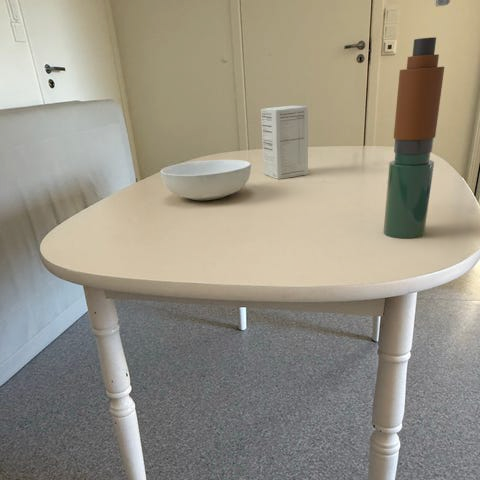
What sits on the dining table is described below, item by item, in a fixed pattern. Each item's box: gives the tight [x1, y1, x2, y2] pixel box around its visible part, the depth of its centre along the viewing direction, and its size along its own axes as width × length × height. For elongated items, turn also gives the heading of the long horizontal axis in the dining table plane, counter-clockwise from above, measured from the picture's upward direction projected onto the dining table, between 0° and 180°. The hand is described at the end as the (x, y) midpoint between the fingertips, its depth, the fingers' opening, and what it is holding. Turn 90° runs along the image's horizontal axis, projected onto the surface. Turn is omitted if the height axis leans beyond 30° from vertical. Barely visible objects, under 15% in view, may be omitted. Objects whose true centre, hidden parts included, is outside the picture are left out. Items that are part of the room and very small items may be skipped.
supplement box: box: [260, 105, 309, 180], centre depth 118 cm, size 10×9×17 cm
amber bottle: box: [393, 36, 445, 140], centre depth 63 cm, size 6×6×12 cm
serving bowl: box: [160, 159, 252, 202], centre depth 104 cm, size 21×21×7 cm
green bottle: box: [382, 138, 435, 239], centre depth 70 cm, size 6×6×14 cm
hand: (453, 1), depth 62 cm, fingers open, 8 cm apart
